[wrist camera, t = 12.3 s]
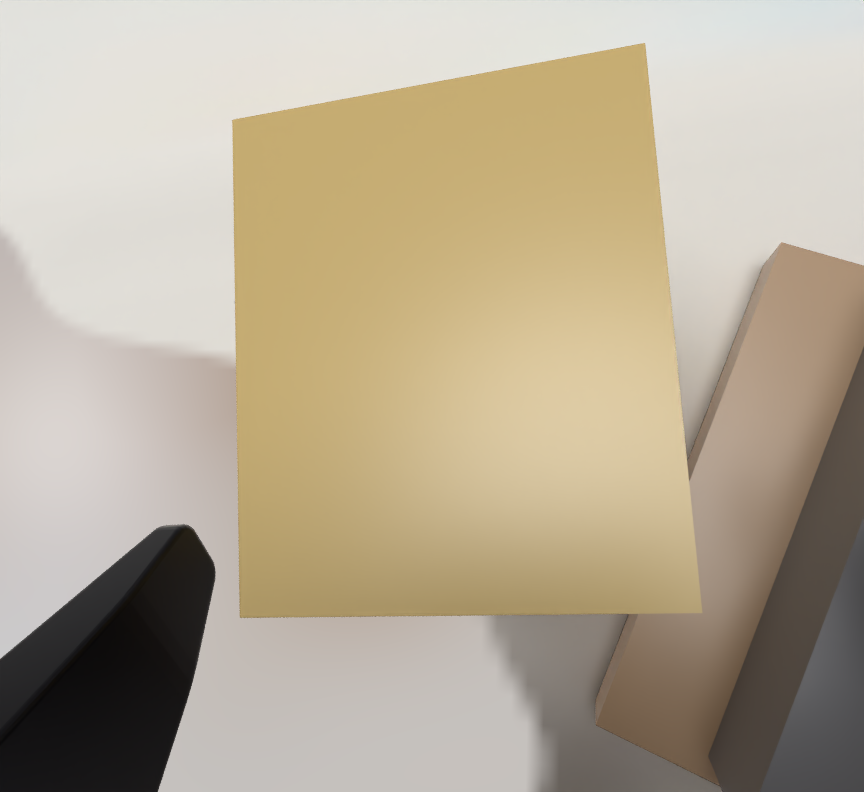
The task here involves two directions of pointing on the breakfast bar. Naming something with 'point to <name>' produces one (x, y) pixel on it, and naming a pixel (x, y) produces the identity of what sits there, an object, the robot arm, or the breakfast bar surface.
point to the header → (767, 557)
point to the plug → (460, 352)
